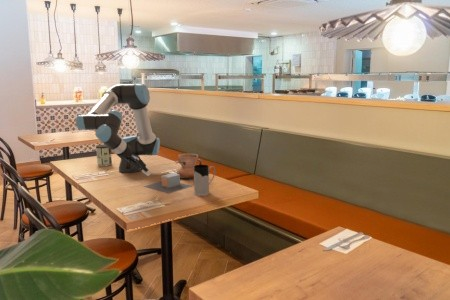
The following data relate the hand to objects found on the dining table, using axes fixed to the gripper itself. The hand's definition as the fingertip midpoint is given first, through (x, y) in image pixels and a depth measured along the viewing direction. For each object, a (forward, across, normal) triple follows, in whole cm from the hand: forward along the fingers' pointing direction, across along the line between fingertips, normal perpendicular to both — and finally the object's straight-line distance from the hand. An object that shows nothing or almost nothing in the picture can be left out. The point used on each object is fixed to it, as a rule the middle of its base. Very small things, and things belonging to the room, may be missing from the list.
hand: (149, 173), depth 206 cm
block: (+12, +1, +2) cm, 12 cm away
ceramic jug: (+32, -5, +17) cm, 37 cm away
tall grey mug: (+20, +25, +5) cm, 32 cm away
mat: (+16, +1, +1) cm, 16 cm away
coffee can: (+24, -80, +8) cm, 84 cm away
